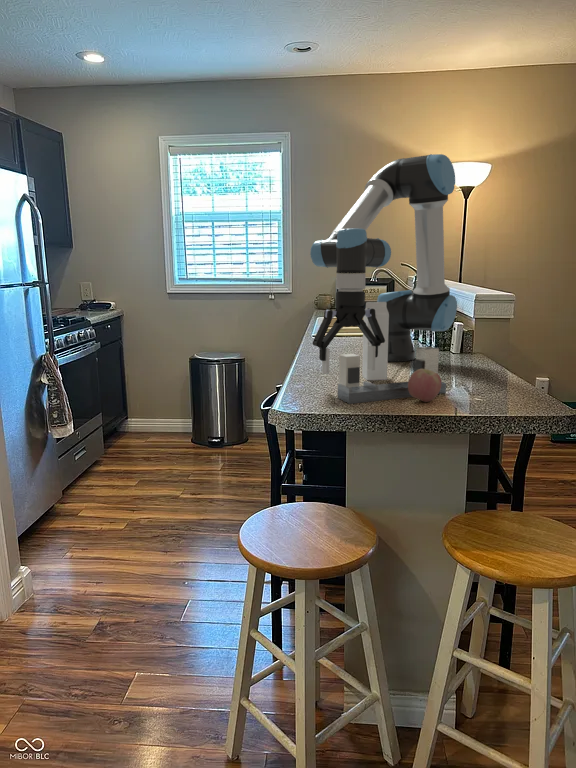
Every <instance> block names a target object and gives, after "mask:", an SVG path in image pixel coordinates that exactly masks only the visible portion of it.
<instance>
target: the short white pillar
mask: <svg viewBox="0 0 576 768" xmlns="http://www.w3.org/2000/svg"><path fill="white" fill-rule="evenodd" d="M338 359H339V365H338V366H339V368H338V371H339V373H338V375H339V377H338V379H339V381H338V384H343V385H345V386H347V387H359V386H360V383H361V382H360V381H361V379H360V378H361V377H360V375H361V355H358V354H355V353H344V354H339V358H338Z"/></svg>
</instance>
